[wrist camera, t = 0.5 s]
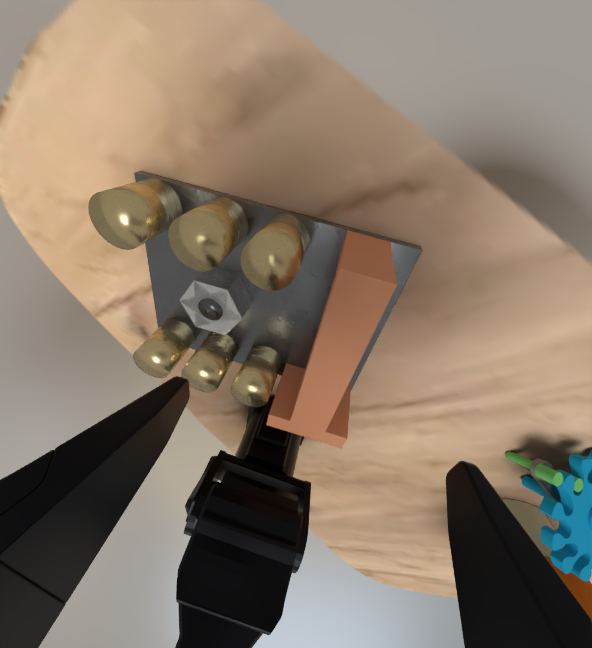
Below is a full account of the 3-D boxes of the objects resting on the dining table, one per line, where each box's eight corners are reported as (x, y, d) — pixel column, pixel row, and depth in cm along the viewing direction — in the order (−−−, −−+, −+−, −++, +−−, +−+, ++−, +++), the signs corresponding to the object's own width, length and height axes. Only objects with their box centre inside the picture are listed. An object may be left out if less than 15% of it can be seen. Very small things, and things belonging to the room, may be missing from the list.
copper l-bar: (417, 249, 16) (433, 294, 12) (346, 392, 25) (341, 448, 21) (321, 223, 17) (304, 258, 12) (283, 373, 25) (266, 424, 21)
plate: (348, 390, 25) (345, 435, 22) (163, 334, 26) (130, 369, 23) (420, 246, 17) (434, 282, 13) (140, 171, 18) (81, 185, 14)
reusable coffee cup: (486, 477, 29) (566, 727, 17) (600, 518, 29) (759, 796, 17) (419, 515, 36) (443, 704, 25) (509, 547, 37) (575, 751, 25)
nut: (250, 322, 22) (240, 340, 20) (195, 306, 22) (181, 322, 21) (255, 279, 20) (244, 295, 18) (193, 261, 20) (177, 275, 18)
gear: (663, 508, 23) (605, 614, 21) (576, 472, 29) (524, 553, 27) (601, 422, 21) (531, 530, 20) (521, 401, 27) (461, 483, 25)
